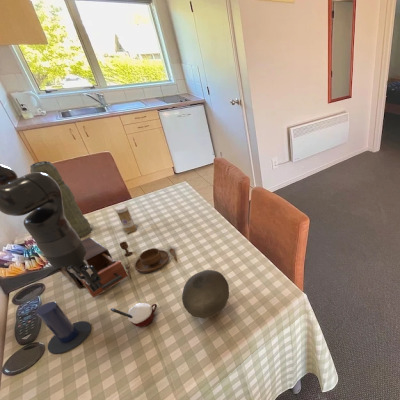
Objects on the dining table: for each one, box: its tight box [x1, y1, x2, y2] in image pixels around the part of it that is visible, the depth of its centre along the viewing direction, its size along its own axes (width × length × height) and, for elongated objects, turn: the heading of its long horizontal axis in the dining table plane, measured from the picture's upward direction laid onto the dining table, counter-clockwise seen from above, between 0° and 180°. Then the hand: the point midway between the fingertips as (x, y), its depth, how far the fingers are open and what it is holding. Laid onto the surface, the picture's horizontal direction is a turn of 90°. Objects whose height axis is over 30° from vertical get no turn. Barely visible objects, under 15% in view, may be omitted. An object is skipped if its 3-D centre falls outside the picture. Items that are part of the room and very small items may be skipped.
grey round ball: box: [181, 269, 230, 319], centre depth 83 cm, size 14×14×15 cm
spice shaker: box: [35, 301, 78, 343], centre depth 76 cm, size 4×4×13 cm
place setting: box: [119, 241, 178, 279], centre depth 107 cm, size 18×20×6 cm
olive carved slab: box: [29, 160, 93, 239], centre depth 115 cm, size 9×12×35 cm
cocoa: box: [110, 302, 158, 328], centre depth 80 cm, size 10×6×12 cm, turn 128°
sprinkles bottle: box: [114, 204, 137, 234], centre depth 121 cm, size 5×5×13 cm
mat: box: [47, 320, 92, 355], centre depth 79 cm, size 10×10×1 cm
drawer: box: [77, 253, 129, 298], centre depth 95 cm, size 18×11×7 cm, turn 59°
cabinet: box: [58, 236, 113, 290], centre depth 101 cm, size 15×13×9 cm
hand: (86, 282), depth 78 cm, fingers open, 8 cm apart
